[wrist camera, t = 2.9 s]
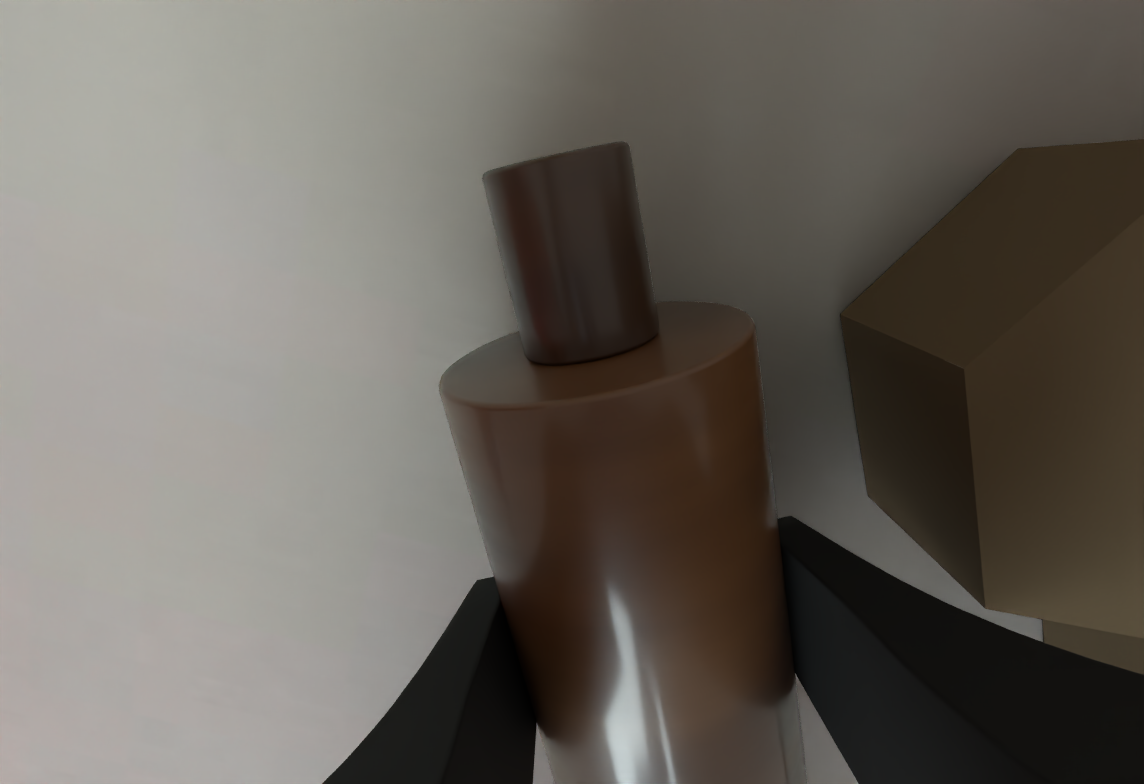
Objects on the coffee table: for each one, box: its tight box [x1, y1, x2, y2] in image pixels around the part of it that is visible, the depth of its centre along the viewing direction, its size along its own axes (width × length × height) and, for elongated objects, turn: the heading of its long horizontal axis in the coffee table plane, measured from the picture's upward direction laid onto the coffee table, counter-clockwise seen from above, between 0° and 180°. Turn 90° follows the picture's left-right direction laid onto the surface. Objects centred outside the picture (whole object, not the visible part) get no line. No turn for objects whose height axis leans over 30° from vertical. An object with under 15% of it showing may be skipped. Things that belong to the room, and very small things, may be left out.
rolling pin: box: [439, 141, 808, 784], centre depth 11 cm, size 15×5×5 cm, turn 12°
